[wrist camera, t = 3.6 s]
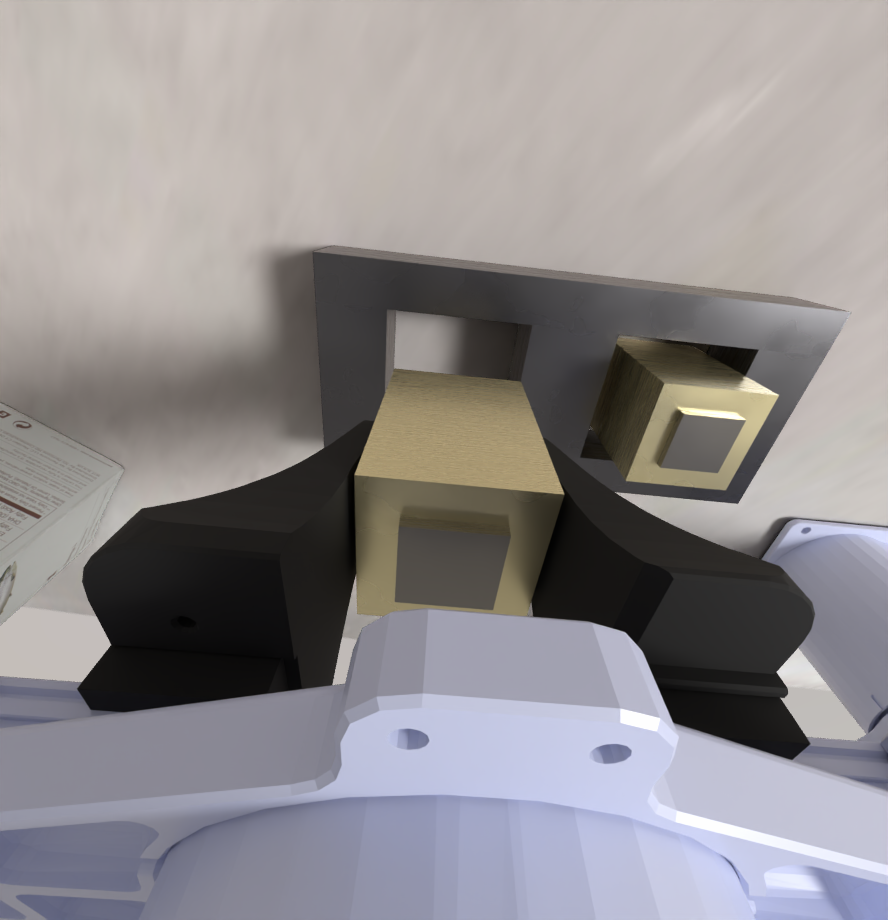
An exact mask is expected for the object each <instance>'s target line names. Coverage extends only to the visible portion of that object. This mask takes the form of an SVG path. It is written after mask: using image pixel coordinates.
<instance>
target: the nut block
mask: <svg viewBox="0 0 888 920" xmlns="http://www.w3.org/2000/svg"><path fill="white" fill-rule="evenodd" d="M354 478H355V528H356V578H357V614H365V615H377V616H385V615H387V614H389V613H391V612H393V611H401V610H412V609H423V608H434V609H446V610H458V611H470V612H482V613H494V614H506V615H518V616H527V613H528V610H529V607H530V603H531V600H532V597H533V594H534V591H535V587H536V584H537V581H538V578H539V575H540V571H541V568H542V565H543V562H544V559H545V555H546V552H547V549H548V546H549V543H550V539H551V536H552V533H553V530H554V527H555V523H556V520H557V517H558V514H559V511H560V507H561V504H562V501H563V498H564V492H563V489H562V487H561V484H560V482H559V479H558V476H557V474H556V471H555V469H554V466H553V463H552V461H551V458H550V456H549V453H548V450H547V448H546V445H545V443H544V440H543V437H542V435H541V432H540V430H539V427H538V424H537V422H536V419H535V417H534V414H533V411H532V409H531V406H530V404H529V401H528V398H527V396H526V393H525V391H524V388H523V386H522V383H521V381H511V380H501V379H491V378H481V377H471V376H462V375H452V374H442V373H432V372H422V371H412V370H403V369H394V371H393V374H392V376H391V379H390V382H389V384H388V387H387V390H386V392H385V395H384V398H383V400H382V403H381V406H380V408H379V411H378V414H377V416H376V419H375V422H374V424H373V427H372V430H371V432H370V435H369V438H368V440H367V443H366V446H365V448H364V451H363V454H362V456H361V459H360V462H359V464H358V467H357V469H356V472H355V475H354Z"/></svg>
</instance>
